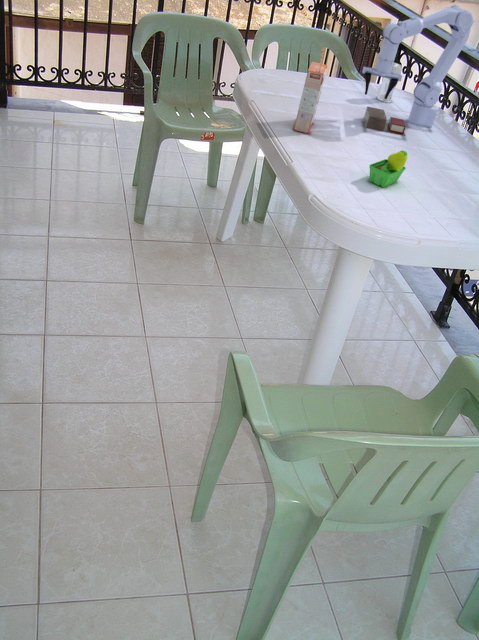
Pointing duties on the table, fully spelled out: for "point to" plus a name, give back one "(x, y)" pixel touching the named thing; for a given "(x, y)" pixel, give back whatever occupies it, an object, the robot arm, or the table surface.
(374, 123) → the book rack
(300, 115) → the cracker box
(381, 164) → the fruit basket
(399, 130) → the red hardcover book
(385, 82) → the beer glass
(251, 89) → the table surface
